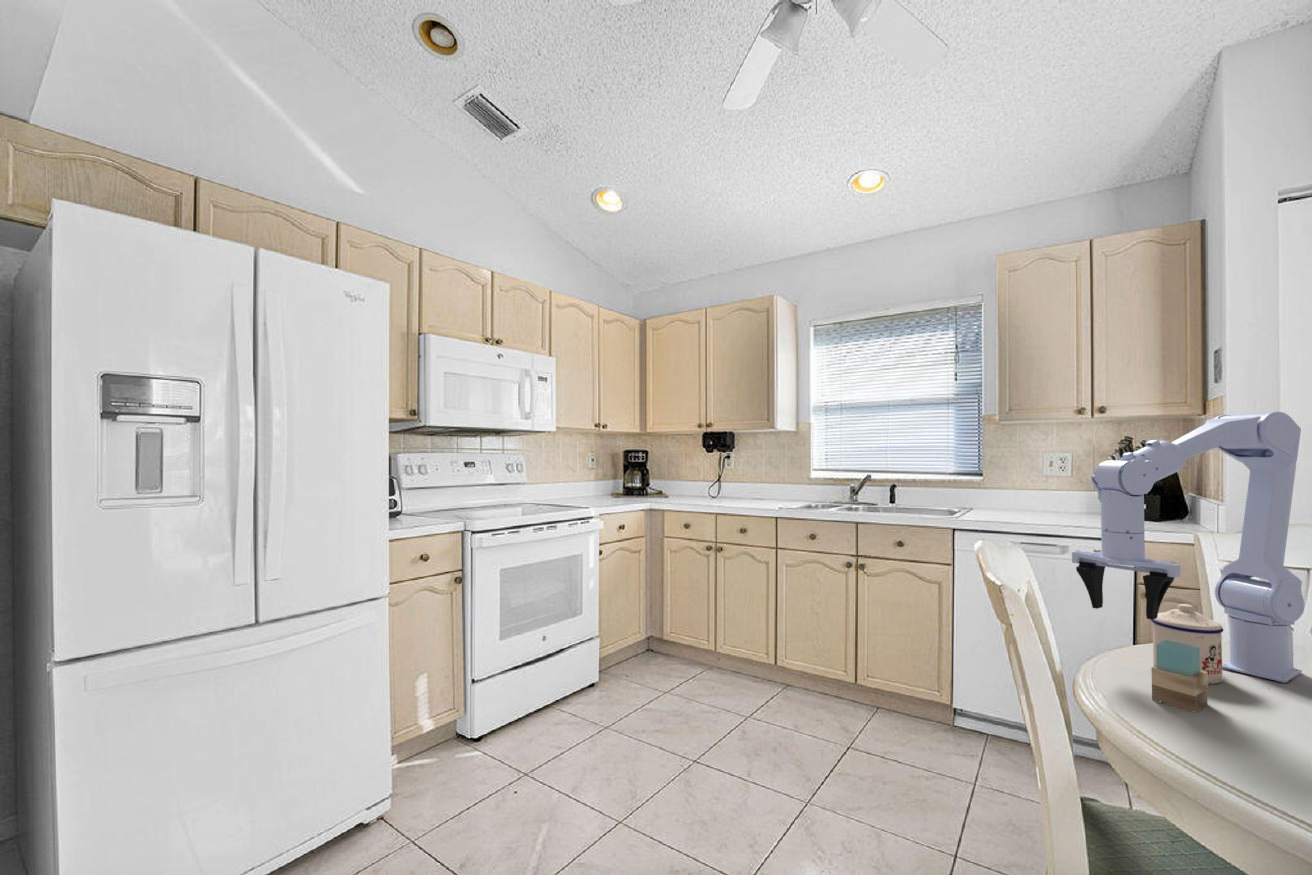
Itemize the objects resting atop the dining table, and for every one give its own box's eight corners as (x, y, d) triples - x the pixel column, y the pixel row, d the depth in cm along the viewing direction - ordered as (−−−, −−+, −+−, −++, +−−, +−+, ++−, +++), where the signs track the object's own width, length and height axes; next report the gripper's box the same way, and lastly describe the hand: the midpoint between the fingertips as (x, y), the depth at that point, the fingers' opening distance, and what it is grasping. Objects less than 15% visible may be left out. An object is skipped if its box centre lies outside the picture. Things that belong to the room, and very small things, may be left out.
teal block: (1165, 662, 91) (1165, 639, 91) (1199, 670, 88) (1199, 647, 88) (1156, 668, 89) (1156, 644, 89) (1191, 676, 86) (1191, 652, 86)
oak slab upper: (1165, 677, 92) (1165, 661, 92) (1207, 689, 87) (1207, 672, 87) (1151, 684, 89) (1151, 667, 89) (1194, 696, 85) (1194, 678, 85)
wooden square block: (1164, 694, 92) (1164, 677, 92) (1207, 705, 87) (1207, 688, 87) (1152, 701, 89) (1151, 684, 89) (1195, 713, 85) (1194, 695, 85)
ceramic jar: (1218, 689, 93) (1217, 615, 93) (1145, 672, 100) (1144, 603, 100) (1232, 672, 100) (1231, 603, 100) (1163, 657, 107) (1162, 593, 108)
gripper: (1062, 528, 103) (1063, 606, 103) (1166, 538, 91) (1168, 627, 91) (1082, 525, 107) (1083, 600, 107) (1184, 535, 95) (1186, 620, 94)
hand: (1123, 612), depth 99 cm, fingers open, 7 cm apart
